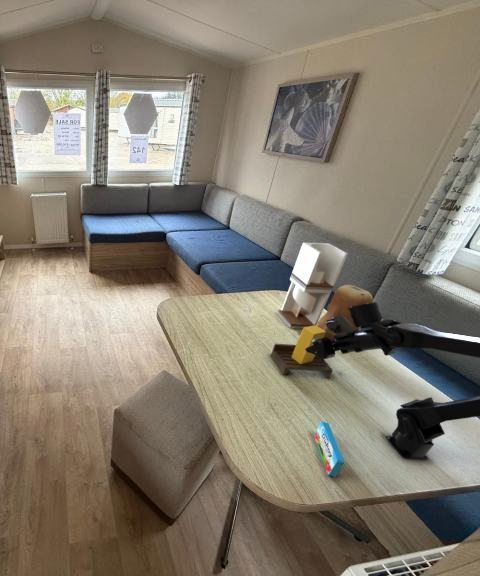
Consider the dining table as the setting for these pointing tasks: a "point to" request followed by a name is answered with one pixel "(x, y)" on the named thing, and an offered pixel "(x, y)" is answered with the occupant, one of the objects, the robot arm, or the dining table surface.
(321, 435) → the blue food box
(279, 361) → the rack
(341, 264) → the white cubby shelf
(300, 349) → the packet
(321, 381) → the dining table surface
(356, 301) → the butternut squash
